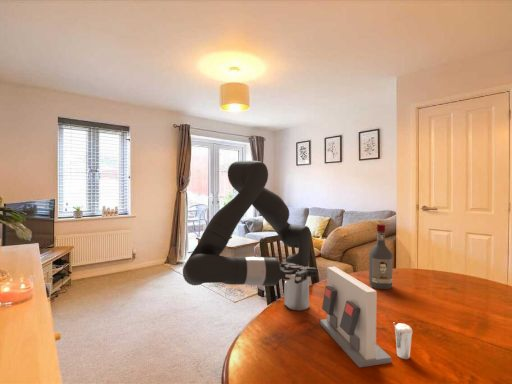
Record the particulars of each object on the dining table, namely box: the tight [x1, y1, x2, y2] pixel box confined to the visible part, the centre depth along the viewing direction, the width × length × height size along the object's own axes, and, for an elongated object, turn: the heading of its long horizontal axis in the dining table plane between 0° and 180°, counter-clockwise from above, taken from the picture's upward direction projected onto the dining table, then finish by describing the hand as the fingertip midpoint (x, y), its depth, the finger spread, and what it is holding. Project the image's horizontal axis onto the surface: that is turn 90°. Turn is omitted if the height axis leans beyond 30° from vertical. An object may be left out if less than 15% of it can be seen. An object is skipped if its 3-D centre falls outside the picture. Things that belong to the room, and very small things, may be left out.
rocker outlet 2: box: [340, 301, 360, 336], centre depth 85 cm, size 2×5×8 cm, turn 13°
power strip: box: [319, 266, 392, 368], centre depth 92 cm, size 10×25×20 cm, turn 12°
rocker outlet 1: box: [321, 285, 337, 315], centre depth 97 cm, size 2×5×8 cm, turn 13°
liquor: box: [368, 223, 393, 290], centre depth 140 cm, size 9×9×30 cm
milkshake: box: [393, 322, 413, 360], centre depth 84 cm, size 4×5×10 cm
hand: (316, 272), depth 83 cm, fingers closed
